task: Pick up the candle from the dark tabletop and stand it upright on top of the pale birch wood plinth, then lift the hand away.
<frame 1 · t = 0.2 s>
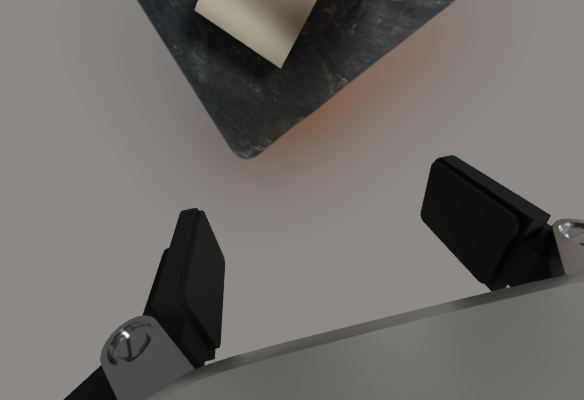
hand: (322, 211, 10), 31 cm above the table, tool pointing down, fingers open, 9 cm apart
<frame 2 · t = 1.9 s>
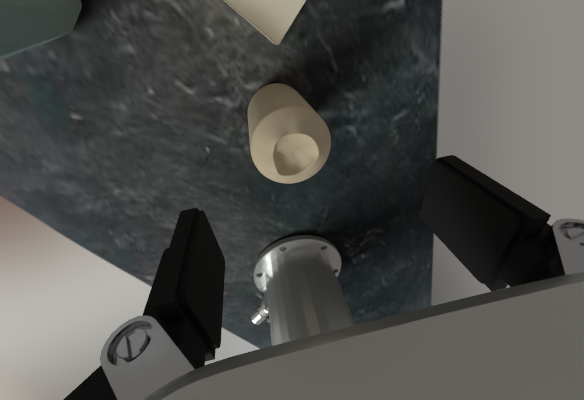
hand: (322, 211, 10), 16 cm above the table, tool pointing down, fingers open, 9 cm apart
candle: (276, 113, 24), on the table
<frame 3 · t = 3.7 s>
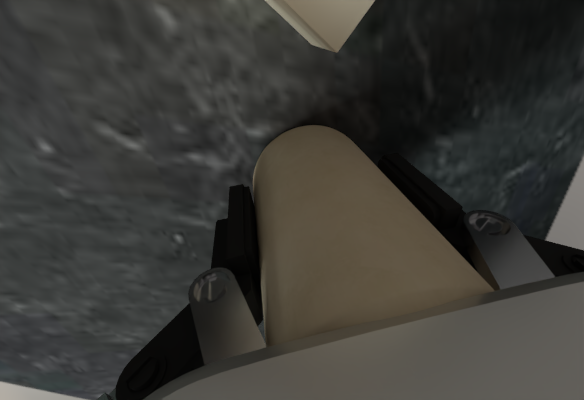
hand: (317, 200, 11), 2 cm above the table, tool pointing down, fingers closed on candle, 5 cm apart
candle: (306, 175, 13), on the table, touching gripper
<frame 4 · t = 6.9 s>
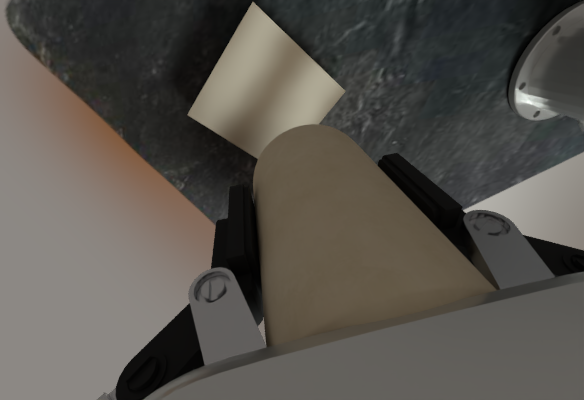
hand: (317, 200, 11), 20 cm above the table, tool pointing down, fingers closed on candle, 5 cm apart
plinth: (265, 95, 27), on the table
candle: (307, 174, 13), point 18 cm above the table, touching gripper
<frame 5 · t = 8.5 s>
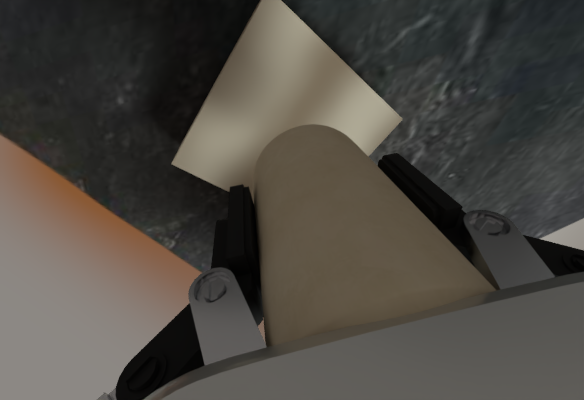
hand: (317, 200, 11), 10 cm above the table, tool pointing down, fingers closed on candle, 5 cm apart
plinth: (283, 125, 19), on the table
candle: (306, 175, 13), point 8 cm above the table, touching gripper
when the fingers open (6 cm above the table, at t = 10.0 s): candle stays where it is, resting on plinth.
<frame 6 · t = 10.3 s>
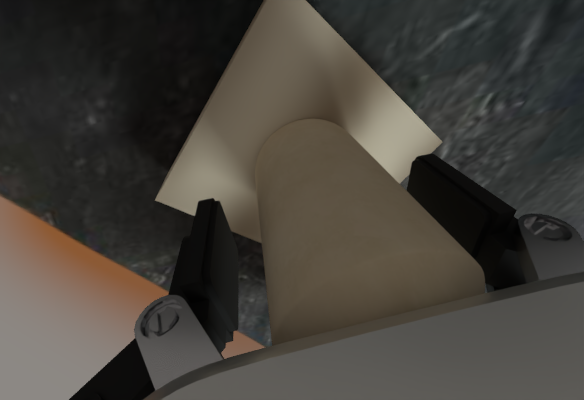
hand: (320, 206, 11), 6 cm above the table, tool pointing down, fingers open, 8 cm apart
plinth: (293, 147, 16), on the table
candle: (306, 167, 13), point 3 cm above the table, touching plinth
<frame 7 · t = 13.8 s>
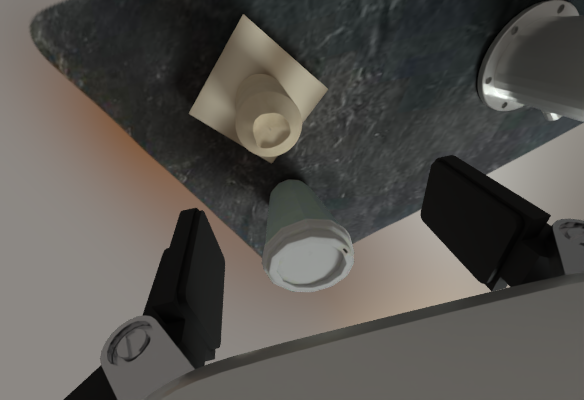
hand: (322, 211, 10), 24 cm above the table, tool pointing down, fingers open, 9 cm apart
plinth: (257, 94, 30), on the table
candle: (261, 100, 28), point 3 cm above the table, touching plinth
disposable coffee cup: (288, 194, 39), on the table
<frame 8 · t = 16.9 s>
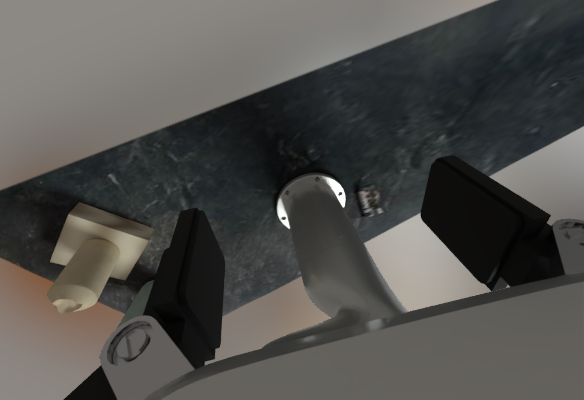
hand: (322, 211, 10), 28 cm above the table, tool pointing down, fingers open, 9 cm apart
plinth: (107, 238, 43), on the table
candle: (101, 249, 41), point 3 cm above the table, touching plinth
disposable coffee cup: (158, 287, 52), on the table
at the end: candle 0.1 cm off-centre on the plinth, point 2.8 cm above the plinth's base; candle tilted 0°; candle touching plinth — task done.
